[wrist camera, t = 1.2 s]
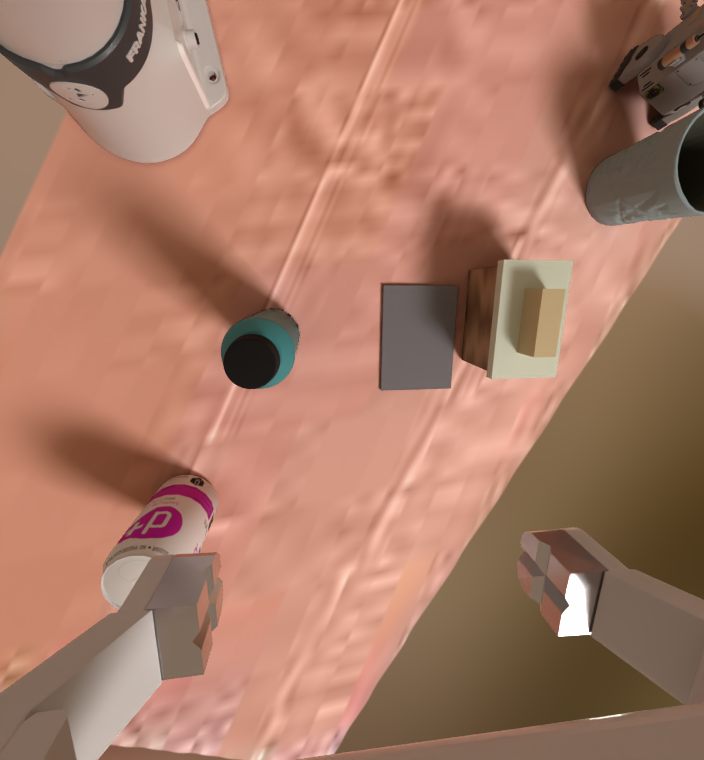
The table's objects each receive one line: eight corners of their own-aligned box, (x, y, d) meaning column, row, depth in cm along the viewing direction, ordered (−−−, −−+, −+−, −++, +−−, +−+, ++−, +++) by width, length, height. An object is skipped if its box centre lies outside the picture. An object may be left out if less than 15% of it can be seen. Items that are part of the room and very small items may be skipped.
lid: (498, 260, 38) (520, 256, 34) (565, 261, 39) (595, 257, 35) (486, 376, 41) (506, 385, 37) (548, 374, 42) (574, 383, 38)
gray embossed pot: (598, 137, 44) (703, 81, 32) (663, 161, 45) (785, 116, 34) (569, 222, 46) (658, 198, 34) (633, 241, 47) (737, 225, 36)
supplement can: (155, 472, 47) (87, 552, 33) (218, 471, 48) (180, 548, 34) (160, 524, 49) (99, 621, 35) (221, 522, 50) (186, 615, 36)
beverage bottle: (309, 322, 45) (311, 345, 25) (286, 367, 46) (270, 421, 26) (263, 297, 43) (227, 301, 24) (240, 343, 44) (188, 383, 25)
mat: (383, 285, 45) (383, 285, 44) (457, 285, 46) (458, 285, 45) (380, 389, 48) (381, 390, 48) (449, 387, 49) (450, 388, 49)
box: (469, 270, 46) (501, 265, 38) (518, 270, 46) (560, 266, 39) (461, 359, 48) (490, 372, 41) (508, 358, 49) (545, 370, 42)
